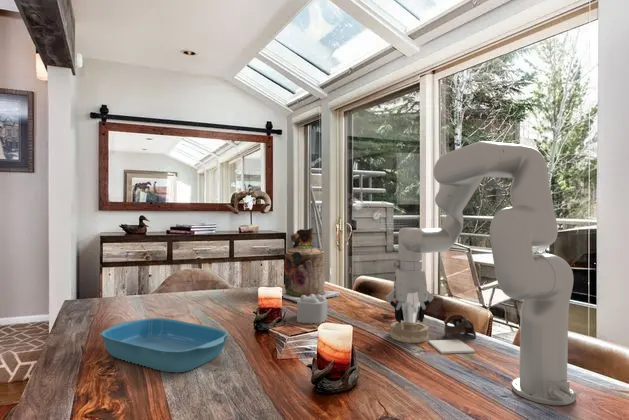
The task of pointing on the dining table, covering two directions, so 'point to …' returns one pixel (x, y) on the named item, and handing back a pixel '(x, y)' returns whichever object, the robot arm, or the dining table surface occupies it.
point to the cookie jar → (304, 268)
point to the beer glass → (410, 312)
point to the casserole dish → (164, 343)
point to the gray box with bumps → (312, 309)
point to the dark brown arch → (459, 325)
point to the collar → (409, 333)
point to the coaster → (451, 346)
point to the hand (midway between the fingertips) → (409, 320)
